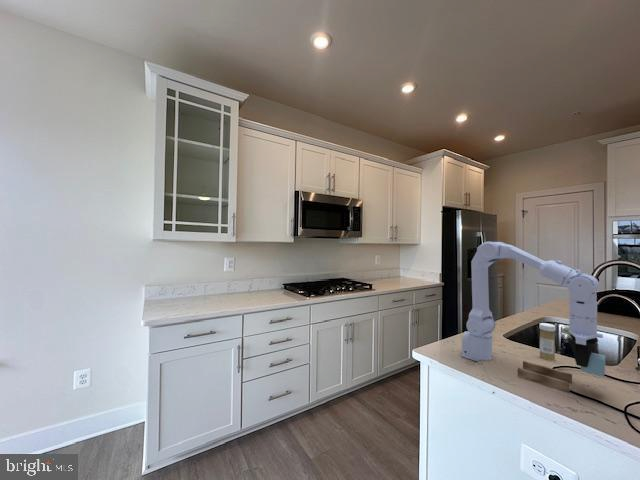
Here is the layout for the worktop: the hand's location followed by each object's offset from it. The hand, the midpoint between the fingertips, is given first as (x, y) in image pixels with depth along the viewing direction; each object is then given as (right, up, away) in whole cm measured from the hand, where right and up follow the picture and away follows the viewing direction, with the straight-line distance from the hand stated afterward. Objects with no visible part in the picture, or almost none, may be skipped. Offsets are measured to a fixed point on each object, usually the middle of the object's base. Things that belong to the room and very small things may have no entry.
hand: (582, 363), depth 78 cm
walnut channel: (-6, -9, +6) cm, 12 cm away
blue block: (0, +1, 0) cm, 1 cm away
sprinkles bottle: (+8, -9, +22) cm, 25 cm away
